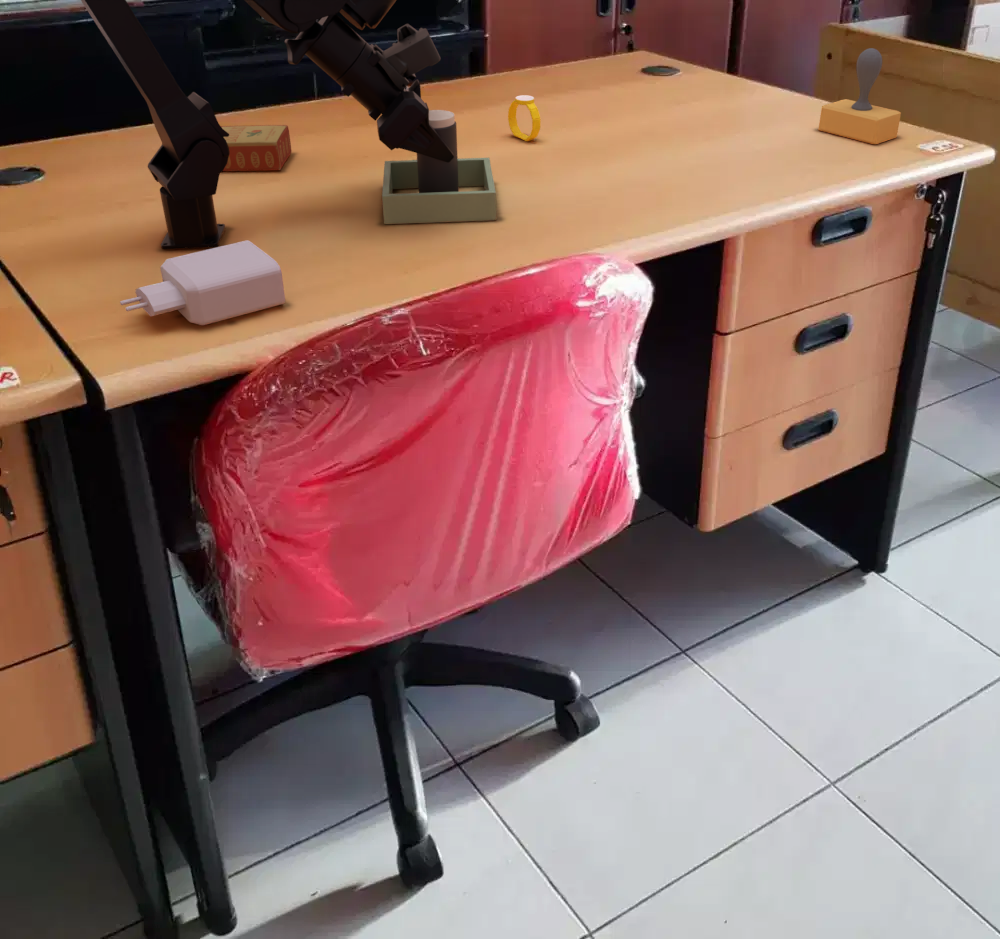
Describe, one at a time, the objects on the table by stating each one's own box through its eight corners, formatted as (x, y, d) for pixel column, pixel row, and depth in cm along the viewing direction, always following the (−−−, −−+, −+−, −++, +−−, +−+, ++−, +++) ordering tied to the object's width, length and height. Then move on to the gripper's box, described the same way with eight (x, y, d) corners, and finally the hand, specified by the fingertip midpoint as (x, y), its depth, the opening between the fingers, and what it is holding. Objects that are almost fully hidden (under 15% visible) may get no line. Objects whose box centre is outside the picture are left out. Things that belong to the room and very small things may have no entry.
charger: (113, 312, 110) (250, 278, 117) (143, 346, 103) (287, 307, 110) (103, 269, 107) (244, 236, 114) (133, 300, 101) (281, 264, 108)
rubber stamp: (897, 137, 157) (914, 51, 150) (874, 145, 154) (890, 57, 147) (840, 123, 163) (853, 39, 156) (816, 130, 160) (829, 45, 153)
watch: (504, 135, 160) (503, 94, 156) (518, 132, 161) (518, 91, 158) (529, 145, 156) (529, 103, 152) (544, 141, 157) (544, 99, 154)
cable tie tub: (459, 209, 134) (456, 119, 128) (419, 210, 134) (414, 121, 127) (458, 195, 138) (455, 108, 132) (419, 197, 138) (414, 109, 132)
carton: (280, 172, 147) (276, 140, 144) (164, 173, 147) (158, 141, 145) (292, 153, 154) (288, 123, 151) (181, 153, 154) (175, 123, 152)
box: (496, 220, 130) (495, 192, 128) (384, 224, 130) (381, 196, 128) (489, 183, 142) (489, 157, 140) (386, 187, 141) (384, 160, 139)
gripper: (402, 22, 115) (505, 121, 122) (390, -8, 130) (482, 81, 138) (335, 102, 118) (439, 193, 125) (331, 63, 133) (424, 146, 141)
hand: (448, 150), depth 132 cm, fingers open, 7 cm apart
